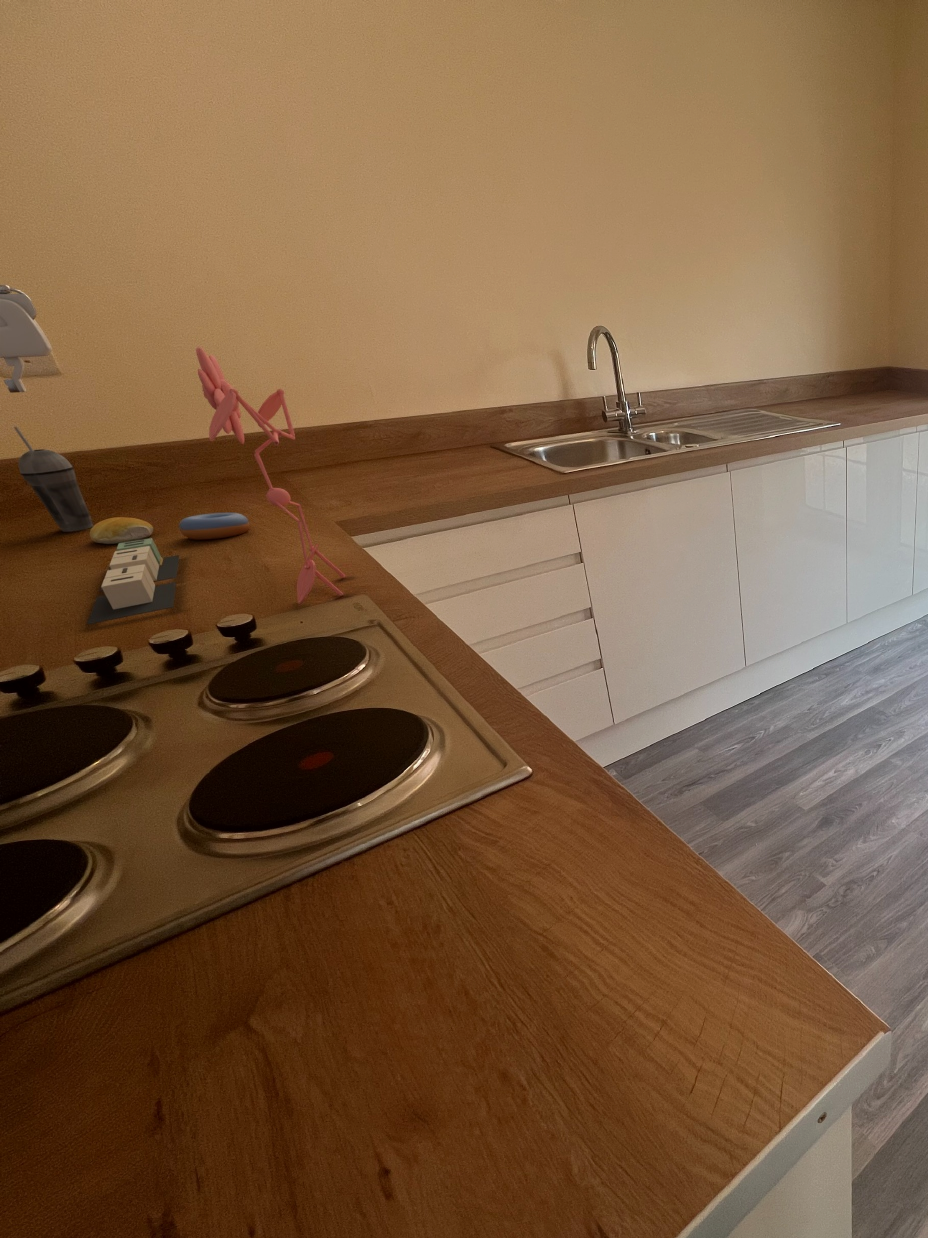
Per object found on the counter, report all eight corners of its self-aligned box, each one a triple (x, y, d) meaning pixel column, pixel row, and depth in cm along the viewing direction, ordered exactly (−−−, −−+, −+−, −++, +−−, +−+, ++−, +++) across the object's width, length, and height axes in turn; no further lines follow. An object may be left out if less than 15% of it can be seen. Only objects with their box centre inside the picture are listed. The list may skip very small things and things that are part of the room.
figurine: (353, 561, 119) (275, 341, 104) (347, 612, 100) (250, 349, 84) (241, 579, 112) (139, 345, 97) (210, 638, 93) (76, 355, 77)
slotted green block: (126, 569, 115) (115, 548, 113) (128, 563, 118) (118, 542, 116) (160, 564, 117) (150, 543, 116) (161, 557, 120) (151, 537, 119)
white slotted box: (113, 609, 100) (100, 585, 99) (116, 601, 103) (103, 577, 101) (152, 602, 103) (140, 578, 101) (153, 594, 105) (142, 571, 104)
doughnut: (239, 526, 139) (230, 504, 137) (262, 534, 134) (252, 511, 132) (177, 540, 131) (166, 517, 129) (198, 548, 127) (187, 524, 125)
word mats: (88, 628, 96) (85, 623, 96) (110, 570, 117) (108, 566, 117) (174, 610, 101) (172, 606, 101) (180, 558, 122) (179, 554, 122)
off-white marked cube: (123, 579, 111) (111, 557, 110) (125, 572, 114) (114, 550, 113) (158, 572, 114) (147, 551, 112) (159, 566, 117) (149, 545, 115)
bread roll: (135, 530, 138) (126, 510, 136) (163, 534, 135) (154, 514, 133) (82, 542, 131) (71, 522, 129) (110, 547, 128) (99, 526, 126)
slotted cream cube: (120, 586, 108) (108, 564, 107) (122, 579, 111) (111, 557, 110) (156, 580, 111) (145, 558, 109) (158, 573, 114) (147, 551, 112)
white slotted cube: (116, 600, 103) (104, 577, 102) (118, 592, 106) (106, 569, 105) (154, 593, 106) (142, 570, 104) (155, 585, 109) (144, 563, 107)
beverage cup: (112, 524, 142) (60, 423, 133) (67, 534, 136) (10, 429, 127) (87, 521, 144) (35, 422, 135) (42, 532, 137) (-16, 428, 128)
